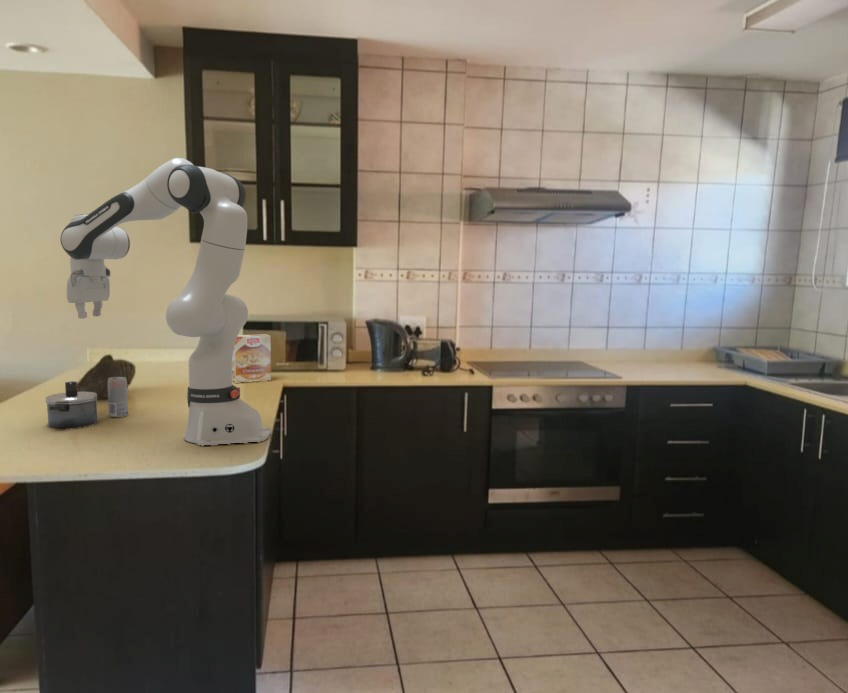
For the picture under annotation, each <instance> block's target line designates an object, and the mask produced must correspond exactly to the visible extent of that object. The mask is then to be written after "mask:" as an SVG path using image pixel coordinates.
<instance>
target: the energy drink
mask: <svg viewBox="0 0 848 693" xmlns="http://www.w3.org/2000/svg"><path fill="white" fill-rule="evenodd" d="M107 400H108V401H107V402H108V404H107V405H108V416H109V418H112V417H120V418H123V417H122V416H125V417H127V416H128V415H129V406H128V405H129V402H128V400H129V399H128V380H127V377H126V376H112V377H108V378H107ZM126 415H127V416H126Z"/></svg>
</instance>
